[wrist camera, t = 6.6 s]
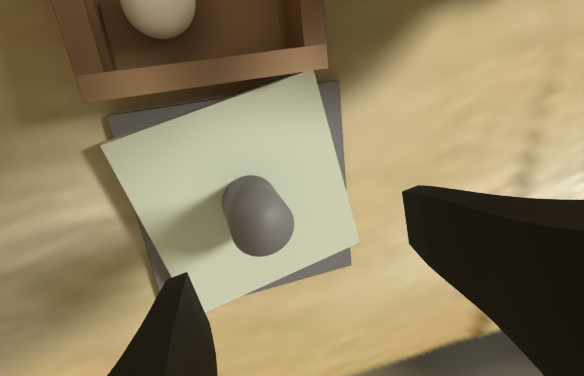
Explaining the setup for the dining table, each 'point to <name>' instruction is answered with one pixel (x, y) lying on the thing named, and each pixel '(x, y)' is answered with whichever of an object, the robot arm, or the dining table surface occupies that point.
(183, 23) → the ball
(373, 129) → the dining table surface
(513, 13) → the dining table surface
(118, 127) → the mat
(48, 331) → the dining table surface
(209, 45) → the box
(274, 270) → the lid
